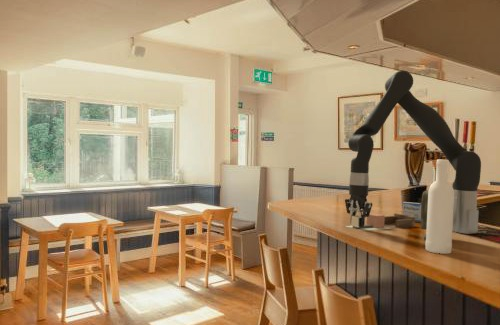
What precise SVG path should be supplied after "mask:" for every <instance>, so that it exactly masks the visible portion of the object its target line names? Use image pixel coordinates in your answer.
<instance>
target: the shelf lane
mask: <svg viewBox="0 0 500 325" xmlns="http://www.w3.org/2000/svg"><path fill="white" fill-rule="evenodd" d="M415 224H416V221H415V217H412V216H407V215H402V214H401V213H394V214H393V215H388V216H386V215H385V220H384V227H382V228H373V227H372V228H361V229H355V228H353V226H351V225H345V227H347V228H350V229H354V230H358V231H362V232H368V231H369V232H371V231H372V232H373V231H380V230H381V231H382V230H383V231H384V230H391V229H393V230H394V229H395V230H396V229H405V228H414V227H415V228H416V227H417V226H416V225H415ZM365 225H367V223H366V224H365Z"/></svg>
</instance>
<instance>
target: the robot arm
mask: <svg viewBox="0 0 500 325" xmlns="http://www.w3.org/2000/svg"><path fill="white" fill-rule="evenodd" d="M413 85H414V77H413V75H412V74H411V73H410V72H409V71H406V70H398V71H397V72H395V73H393V74H392V75H391V76H390V77H389V78H388V79H387V80H386V81H385V84H384V88H385V91H386V92H385V93H384V95H383V96H382V98H381V99H380V100H379V102H378V103H377V104H376V105H375V106H374V107H373V109H372V110H371V111H370V113H369V114H368V115H367V117H366V118H365V120H364V121H363V123H362V124H361V125H360V126H359V127H358V128H357V129H356V130H355V131H354V132H353V133H352V134H351V136H350V137H349V139H348V143H347V144H348V148H349V149H350V151H353V152H355V153H357V154H356V156H355V157H353V158H352V159H351V161H350V175H349V184H348V185H349V188H348V189H349V191H348V192H349V193H348V194H349V195H350V196H349V198H345V199H344V204H345V210H346V213H347V214H349V216H350V217H351V216H357V213H358V216H359V217H360V218H359V227H364V225H365V221H366V220H365V219H366V218H367V217H369V214H371V211H372V208H373V203H372V202H369V201H368V196H369V182H370V178H369V171H370V170H369V169H370V166H369V164H370V160H371V158H372V155H373V150H374V139H373V136H376V135H377V134H378V133H379V132H380V130H381V128H383V126H384V124H385V123H386V121H387V119H388V117H389V116H390V115H391V113H392V112H393V110H394V108H395V107H396V106H397V105H399V106H400V107H401V108H402V109H403V111H405V112H406V114H408V116H409V117H410V118H411V119H412V121H414V123H415V124H416V125H417V126H418V127H419V129H420V130H421V131H422V132H423V133H424V134H425V135H426V137H427V138H428V139H429V140H430V141H431V142H432V143H433V144H434V145H435V146H436V147H437V148H438V149H439V150H440V151H441V153H442V154H443V155H444V156H445V158H446V160H449V165H450V164H451V165H450V166H452V168H453V169H454V170H455V176H454V178H455V179H454V181H453V182H452V187H453V190H454V212H453V227H452V232H456V233H459V234H465V235H471V234H477V233H478V232H479V231H478V228H479V213H480V212H479V209H477V208H478V207H477V204H478V189H479V188H478V187H479V185H480V181H481V171H482V162H481V157H480V156H479V155H478V154H477V153H476V152H474V151H471V150H469V151H468V150H467V149H466V148H465V147H464V146H462V145H461V143H460V142H458V140H457V139H456V138H455V136H454V134H453V132H452V130H451V128H450V127H449V124H448V123H447V122H446V120H445V119H444V117H443V116H442V115H441V114H440V113H439V112H438V111H437V110H436V109H435V108H433V107H431V106H429V105H428V104H427V103H425V102H422V101H420V100H419V99H418V98H416V97H415V95H413V93H412V92H411V91H410V90H411V88H412V87H413ZM349 222H350V223H351V220H350V221H349Z"/></svg>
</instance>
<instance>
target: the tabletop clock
mask: <svg viewBox="0 0 500 325" xmlns="http://www.w3.org/2000/svg"><path fill="white" fill-rule="evenodd" d="M428 191H429V189H427V190H424V191H422V194H421V202H420V203H421V221H420V229H421V230H425V231H426V229H427V209H428ZM453 212H454V208H453ZM423 240H424V241H426V235H424V236H423Z"/></svg>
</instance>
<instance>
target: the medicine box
mask: <svg viewBox="0 0 500 325" xmlns="http://www.w3.org/2000/svg"><path fill="white" fill-rule="evenodd" d="M401 210H402V212H401V213H402V215H407V216H412V217H415V223H416V222H418V223H421V202H420V203H419V202H409V201H408V202H407V201H403V202H402V209H401Z"/></svg>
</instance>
